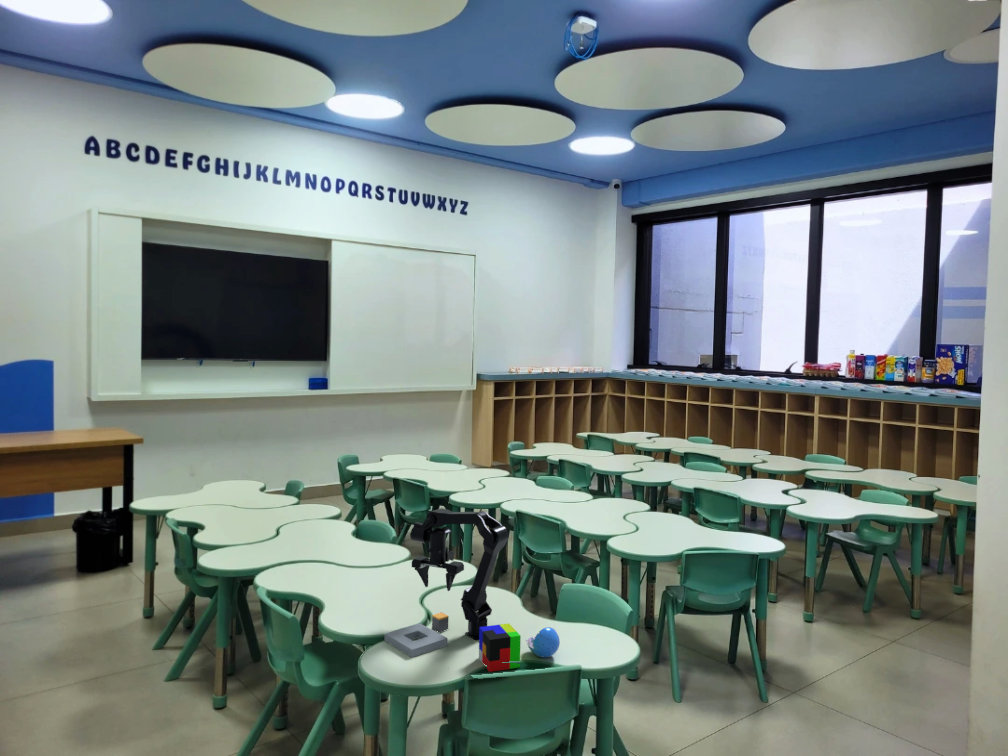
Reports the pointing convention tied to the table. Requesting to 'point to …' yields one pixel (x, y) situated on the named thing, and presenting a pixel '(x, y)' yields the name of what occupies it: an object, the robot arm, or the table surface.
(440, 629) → the orange-topped grey block
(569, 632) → the table surface
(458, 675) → the table surface
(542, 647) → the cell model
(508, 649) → the puzzle toy
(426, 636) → the plate
